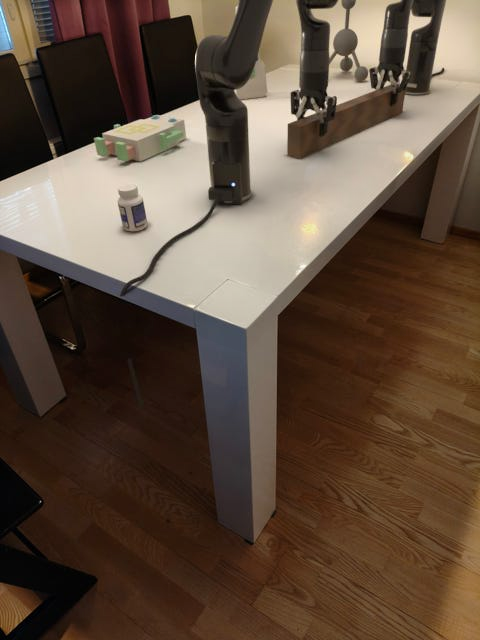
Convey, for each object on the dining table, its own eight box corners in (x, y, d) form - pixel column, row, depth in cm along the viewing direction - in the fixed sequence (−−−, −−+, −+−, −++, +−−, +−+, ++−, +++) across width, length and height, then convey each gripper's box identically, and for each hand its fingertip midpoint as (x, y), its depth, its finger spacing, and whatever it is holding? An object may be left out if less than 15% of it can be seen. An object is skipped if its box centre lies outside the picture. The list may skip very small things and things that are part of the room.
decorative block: (146, 110, 155) (194, 118, 145) (149, 131, 159) (196, 140, 149) (83, 133, 139) (132, 144, 129) (88, 156, 143) (136, 168, 133)
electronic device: (236, 100, 185) (231, 6, 166) (231, 95, 191) (226, 5, 172) (267, 96, 187) (266, 3, 169) (261, 92, 193) (260, 2, 174)
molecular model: (302, 76, 212) (304, -7, 193) (348, 70, 216) (355, -11, 198) (326, 87, 194) (331, -3, 175) (375, 81, 198) (385, -8, 180)
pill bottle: (149, 220, 107) (142, 181, 102) (146, 231, 103) (138, 191, 98) (125, 221, 107) (116, 182, 102) (121, 232, 103) (112, 193, 98)
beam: (299, 158, 133) (300, 126, 128) (287, 155, 136) (287, 123, 130) (402, 112, 162) (406, 84, 157) (390, 110, 165) (394, 83, 160)
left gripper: (346, 68, 124) (340, 135, 134) (301, 62, 132) (300, 125, 142) (328, 74, 119) (324, 142, 130) (283, 67, 128) (283, 132, 138)
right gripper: (421, 44, 145) (411, 105, 155) (379, 40, 153) (373, 98, 163) (408, 48, 141) (399, 110, 151) (366, 44, 149) (360, 103, 159)
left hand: (311, 133), depth 136 cm, fingers open, 7 cm apart
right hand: (385, 104), depth 157 cm, fingers closed on beam, 4 cm apart
